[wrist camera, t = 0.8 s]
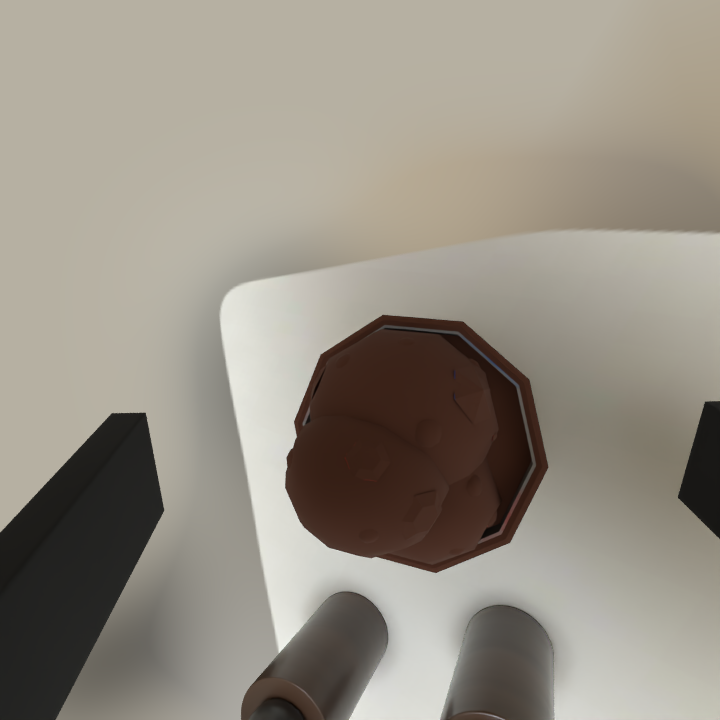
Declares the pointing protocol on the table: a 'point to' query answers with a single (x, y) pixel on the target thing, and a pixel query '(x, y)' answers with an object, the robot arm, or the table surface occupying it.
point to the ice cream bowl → (415, 445)
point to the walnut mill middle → (502, 669)
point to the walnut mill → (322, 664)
